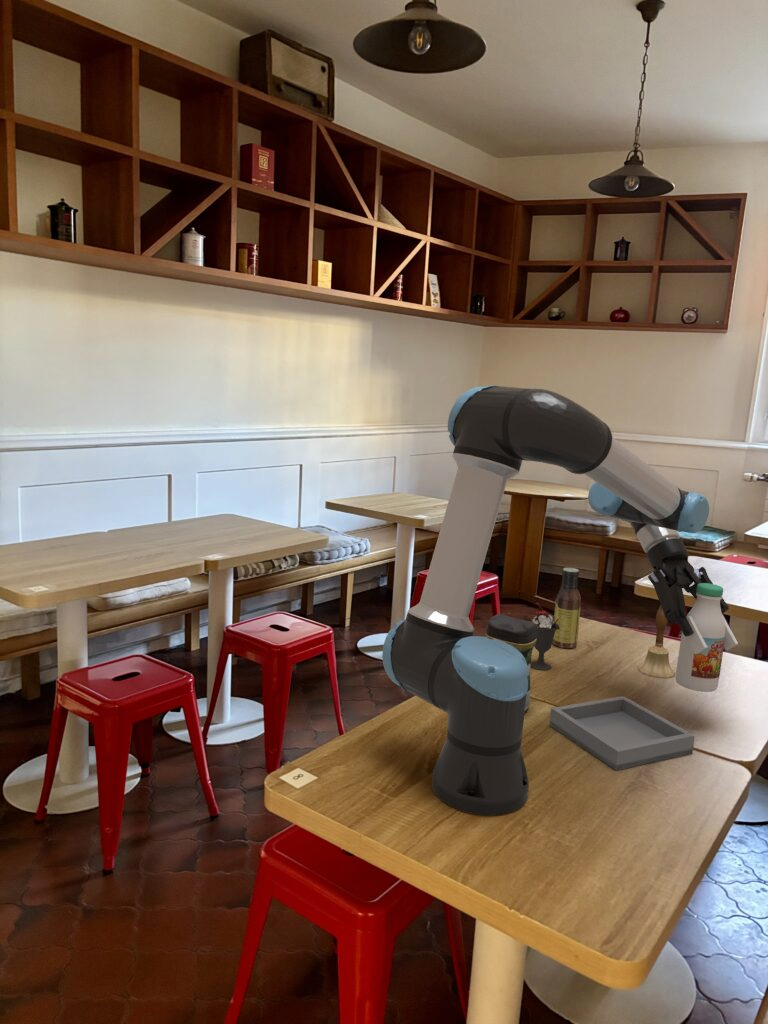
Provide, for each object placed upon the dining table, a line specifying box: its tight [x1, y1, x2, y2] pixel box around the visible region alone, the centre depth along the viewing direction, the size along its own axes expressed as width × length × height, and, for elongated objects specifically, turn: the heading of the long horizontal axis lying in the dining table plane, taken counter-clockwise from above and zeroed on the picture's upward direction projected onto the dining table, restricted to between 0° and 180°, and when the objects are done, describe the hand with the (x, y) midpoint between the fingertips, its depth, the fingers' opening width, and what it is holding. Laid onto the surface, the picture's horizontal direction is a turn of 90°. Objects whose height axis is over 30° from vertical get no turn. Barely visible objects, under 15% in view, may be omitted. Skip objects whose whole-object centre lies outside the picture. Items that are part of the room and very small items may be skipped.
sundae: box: [530, 602, 560, 671], centre depth 173 cm, size 7×7×15 cm
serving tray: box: [549, 695, 696, 772], centre depth 139 cm, size 18×18×4 cm
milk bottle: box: [675, 583, 725, 693], centre depth 145 cm, size 8×8×20 cm
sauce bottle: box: [552, 567, 582, 650], centre depth 188 cm, size 6×6×20 cm
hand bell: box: [636, 604, 676, 679], centre depth 174 cm, size 8×8×16 cm
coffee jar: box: [485, 613, 536, 712], centre depth 150 cm, size 10×8×19 cm
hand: (716, 648), depth 142 cm, fingers closed on milk bottle, 7 cm apart
